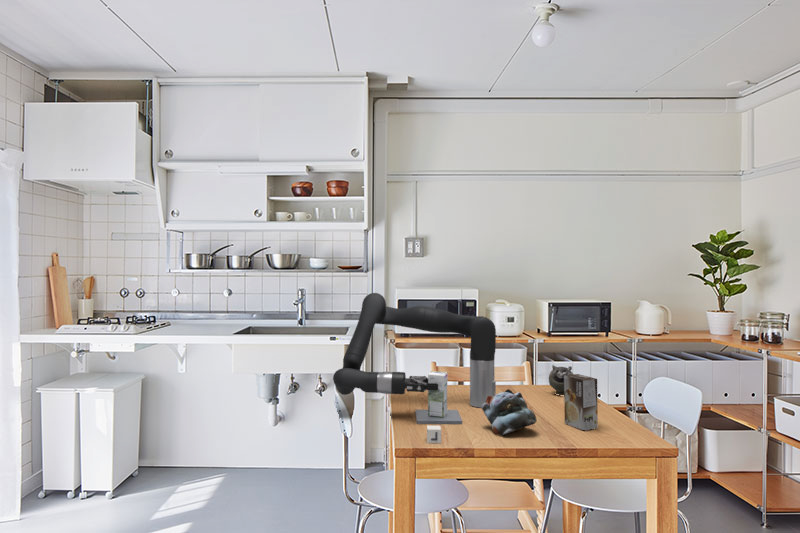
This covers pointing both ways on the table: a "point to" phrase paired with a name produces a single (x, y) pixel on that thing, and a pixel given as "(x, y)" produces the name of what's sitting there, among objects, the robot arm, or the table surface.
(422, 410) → the grey board
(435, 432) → the white letter cube
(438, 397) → the syrup box
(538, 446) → the table surface
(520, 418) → the lucky cat figurine
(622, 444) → the table surface
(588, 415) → the coffee box
